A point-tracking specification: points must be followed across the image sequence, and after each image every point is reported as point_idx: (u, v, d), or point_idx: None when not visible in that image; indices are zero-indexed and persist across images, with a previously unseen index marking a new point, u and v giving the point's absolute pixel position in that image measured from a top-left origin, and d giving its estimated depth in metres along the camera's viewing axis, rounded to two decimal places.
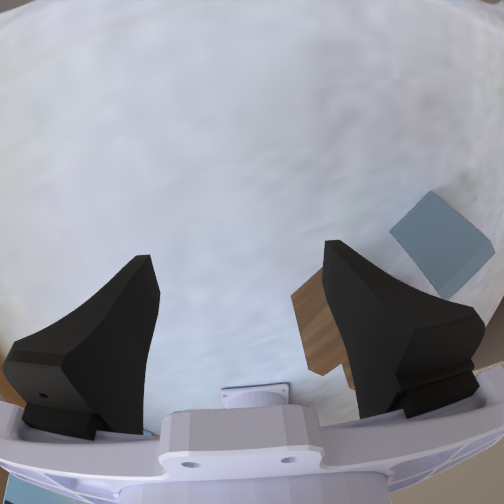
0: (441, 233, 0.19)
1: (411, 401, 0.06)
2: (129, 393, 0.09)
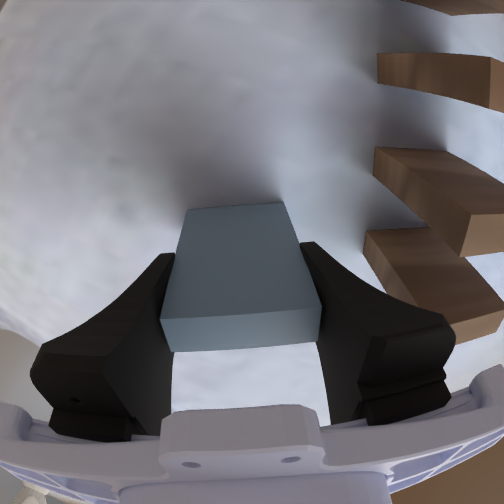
0: None
1: (372, 411, 0.06)
2: (159, 394, 0.09)
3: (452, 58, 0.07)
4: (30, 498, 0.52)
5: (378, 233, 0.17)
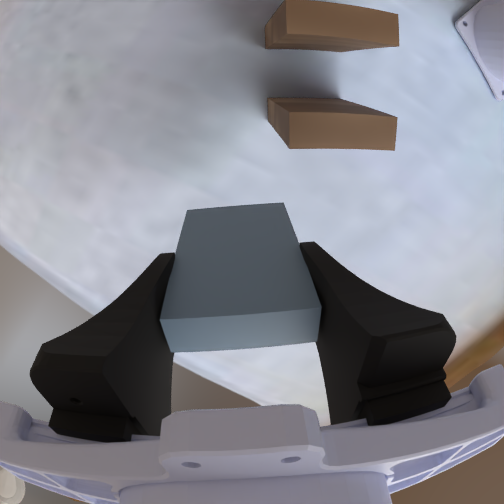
0: None
1: (372, 411, 0.06)
2: (160, 394, 0.09)
3: None
4: None
5: (278, 98, 0.18)
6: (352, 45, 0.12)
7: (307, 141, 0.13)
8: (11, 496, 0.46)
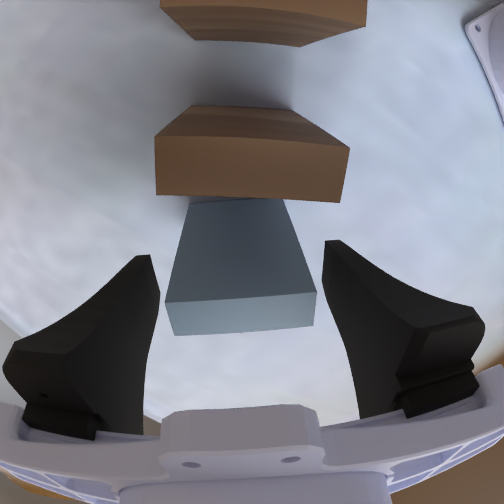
0: None
1: (411, 401, 0.06)
2: (129, 393, 0.09)
3: None
4: None
5: (204, 106, 0.14)
6: (297, 30, 0.08)
7: (184, 184, 0.08)
8: None
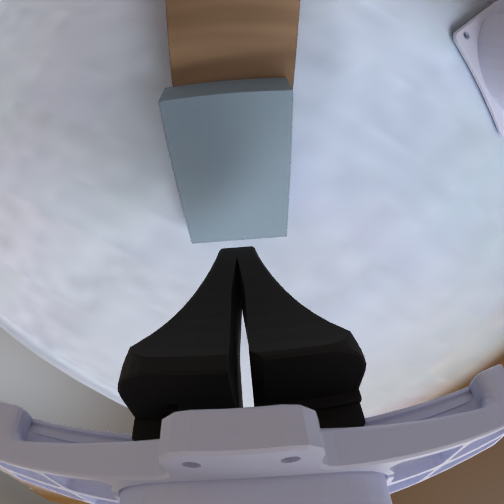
0: (222, 171, 0.13)
1: None
2: (240, 392, 0.09)
3: None
4: None
5: None
6: None
7: None
8: None
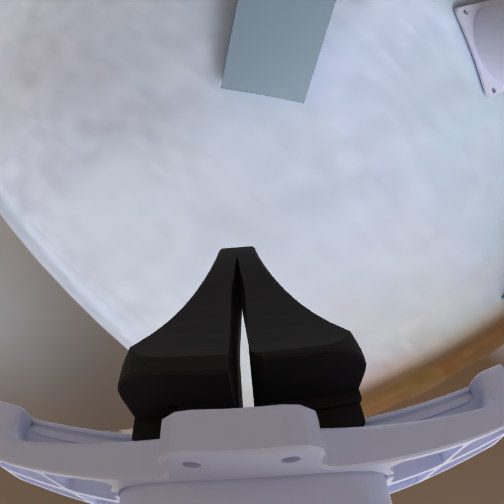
0: (272, 26, 0.14)
1: None
2: (240, 392, 0.09)
3: None
4: None
5: None
6: None
7: None
8: None
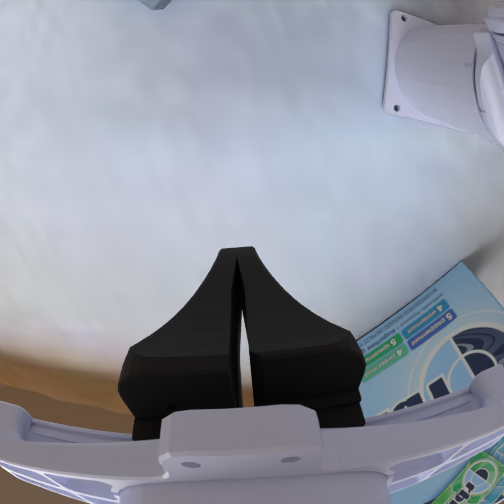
0: None
1: None
2: (240, 392, 0.09)
3: None
4: None
5: None
6: None
7: None
8: None
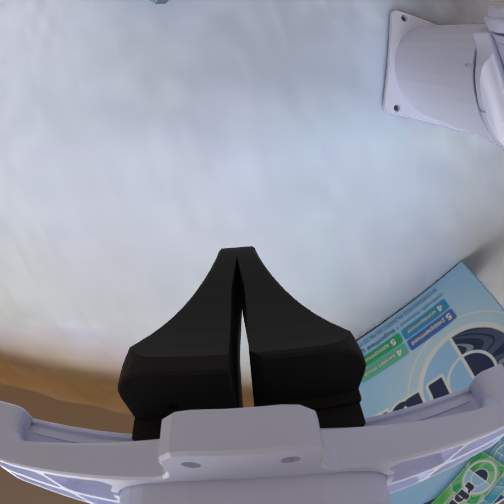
0: None
1: None
2: (240, 392, 0.09)
3: None
4: None
5: None
6: None
7: None
8: None
